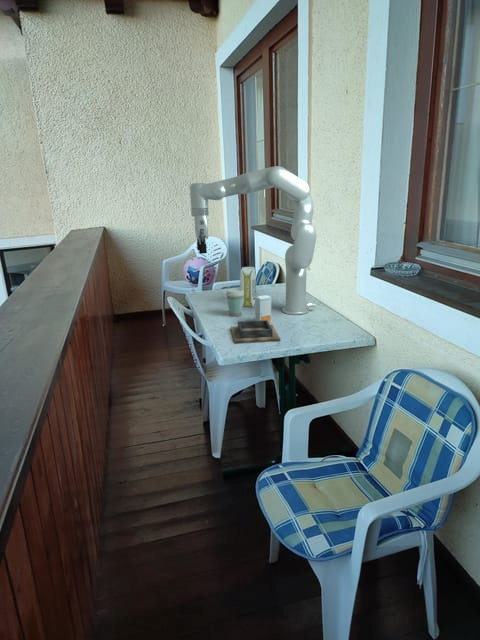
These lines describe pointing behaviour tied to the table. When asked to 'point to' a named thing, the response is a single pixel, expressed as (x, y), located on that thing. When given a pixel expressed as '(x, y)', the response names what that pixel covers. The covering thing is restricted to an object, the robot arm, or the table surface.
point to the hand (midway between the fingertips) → (201, 251)
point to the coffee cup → (235, 301)
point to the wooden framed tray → (254, 332)
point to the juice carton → (248, 285)
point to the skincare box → (263, 308)
